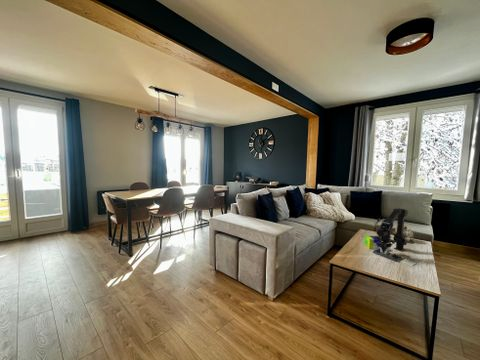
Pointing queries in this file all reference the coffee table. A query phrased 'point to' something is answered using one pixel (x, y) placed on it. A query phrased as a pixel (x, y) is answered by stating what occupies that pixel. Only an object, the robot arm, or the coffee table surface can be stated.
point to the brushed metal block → (386, 251)
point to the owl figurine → (407, 234)
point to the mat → (408, 262)
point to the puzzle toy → (371, 242)
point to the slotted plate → (390, 256)
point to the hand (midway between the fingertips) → (384, 251)
